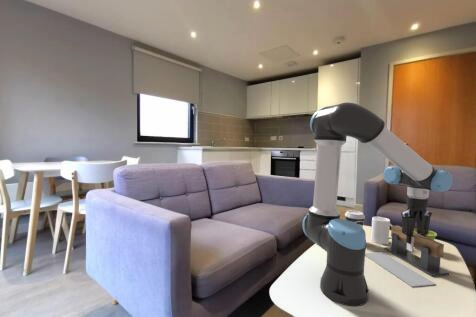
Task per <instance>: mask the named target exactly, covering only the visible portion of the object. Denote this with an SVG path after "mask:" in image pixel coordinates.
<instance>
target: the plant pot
mask: <svg viewBox="0 0 476 317" xmlns="http://www.w3.org/2000/svg"><path fill="white" fill-rule="evenodd" d="M424 231H425V230H424ZM414 232H415V233H417V228H414ZM425 235H426V237H427V238H429V239H432V240H434V241H435V239H436V237H437V236H438V234H437V232H435V231H432V230H430V229H429V232H428V234H425Z"/></svg>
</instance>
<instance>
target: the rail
mask: <svg viewBox="0 0 476 317" xmlns="http://www.w3.org/2000/svg"><path fill="white" fill-rule="evenodd" d="M390 229H391V230H390V237H392V233H396V234H398V235H399V240H400V241H402V242H404V243H407V242H406V235H405V234H403V233H402V226H400V225H393V226H390ZM413 237H414V249H415V248H417V249H419V250H421V246H424V247H426V248H428V249H430V255H432V256H434V257H441V258H443V257H444V247H445V244H444V243H442V242H440V241H436V240H435V239H434V240H432V239H429V238H427V237H424V236H422V235H420V234H417V233H415V232H413Z"/></svg>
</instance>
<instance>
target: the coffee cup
mask: <svg viewBox="0 0 476 317" xmlns="http://www.w3.org/2000/svg"><path fill="white" fill-rule="evenodd" d="M344 216H345V220H348V221H352V222H355V223H357V224H358V225H360V226H361V227H362V228H363V227H364V219H366V217H365V214H364V213H363V212H362V211H358V210H354V209H353V210H346V212H345V213H344Z"/></svg>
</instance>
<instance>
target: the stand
mask: <svg viewBox="0 0 476 317" xmlns="http://www.w3.org/2000/svg"><path fill="white" fill-rule="evenodd" d="M391 237H392V239H391V246H388V247H386V246H385V247H383V250H384V251H386V252H388V253H389V254H391V255H393V256H395V257H396V258H398V259H400V260H402V261H403V262H406V263H407V264H409V265H411V266H412V267H414V268H416V269H418V270H420V271H421V272H423V273H425V274H426V275H428V276H430V277H431V278H433V277H443V276H450V272H448V271H447V270H444V269H443V268H441V258H442V257H434V256H432V255H430V249H428V248H426V247H424V246H421V251H420V256H417V255H416V254H414V253H413V252H411V251H409V250H407V243H404V242H402V241H400V240H399V235H398V234H396V233H392V236H391Z"/></svg>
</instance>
